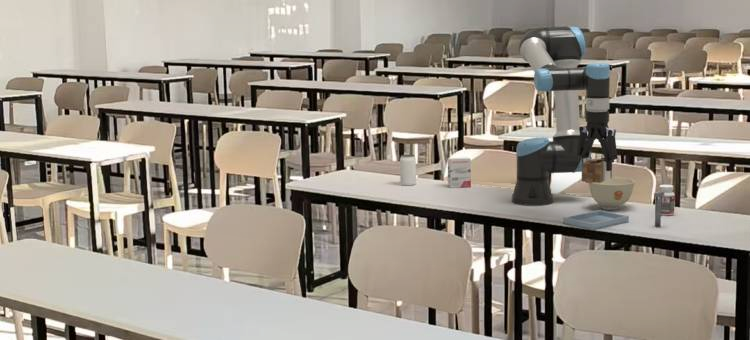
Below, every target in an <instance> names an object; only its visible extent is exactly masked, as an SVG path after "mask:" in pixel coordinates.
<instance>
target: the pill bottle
mask: <svg viewBox="0 0 750 340" xmlns="http://www.w3.org/2000/svg"><path fill="white" fill-rule="evenodd" d="M658 190H659V192H664V196H661V216H666V217H667V216H673V215H675V197H676V195H675V192H673V191H674V185H671V184H660V185H659V187H658Z"/></svg>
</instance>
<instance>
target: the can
mask: <svg viewBox="0 0 750 340" xmlns="http://www.w3.org/2000/svg"><path fill="white" fill-rule="evenodd" d="M416 162H417V161H416V156H415V154H402V155H400V158H399V180H400V181H399V182H400V183H399V184H400V185H401V186H404V187H409V186H411V187H413V186H415V185H416V184H417V165H416Z"/></svg>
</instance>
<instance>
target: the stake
mask: <svg viewBox="0 0 750 340" xmlns="http://www.w3.org/2000/svg"><path fill="white" fill-rule="evenodd" d="M661 196H664V192H660V191H657V192H654V193H653V197H654V198H655V200H654V201H655V205H654V207H655V208H654V209H655V210H654V227H655V226H656V227H655V228H661V221H662V220H661V219H662V217H661V216H662V215H661Z"/></svg>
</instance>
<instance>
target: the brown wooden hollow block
mask: <svg viewBox="0 0 750 340" xmlns="http://www.w3.org/2000/svg"><path fill="white" fill-rule="evenodd" d="M604 160H605V158H604V159H602V158H593V159H592V158H591V160H589V161H587V162H584V163H582V172H581V182H585V183H586V184H589V183H593V182H596V183H601V182H603V161H604ZM612 177H613V170H612V171H610V178H612Z"/></svg>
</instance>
